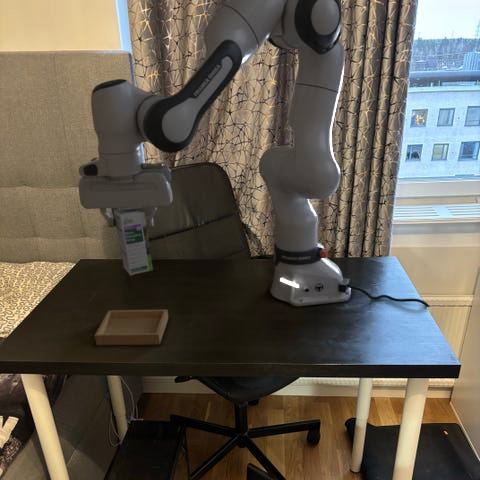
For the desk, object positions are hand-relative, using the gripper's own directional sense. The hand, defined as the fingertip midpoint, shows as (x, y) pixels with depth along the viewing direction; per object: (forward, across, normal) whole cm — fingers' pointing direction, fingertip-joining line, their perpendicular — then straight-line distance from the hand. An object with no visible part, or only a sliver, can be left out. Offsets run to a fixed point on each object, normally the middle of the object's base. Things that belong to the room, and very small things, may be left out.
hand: (131, 226), depth 113 cm
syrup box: (+11, 0, 0) cm, 11 cm away
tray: (+27, +3, +2) cm, 27 cm away
